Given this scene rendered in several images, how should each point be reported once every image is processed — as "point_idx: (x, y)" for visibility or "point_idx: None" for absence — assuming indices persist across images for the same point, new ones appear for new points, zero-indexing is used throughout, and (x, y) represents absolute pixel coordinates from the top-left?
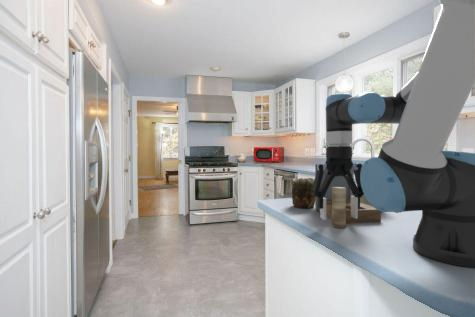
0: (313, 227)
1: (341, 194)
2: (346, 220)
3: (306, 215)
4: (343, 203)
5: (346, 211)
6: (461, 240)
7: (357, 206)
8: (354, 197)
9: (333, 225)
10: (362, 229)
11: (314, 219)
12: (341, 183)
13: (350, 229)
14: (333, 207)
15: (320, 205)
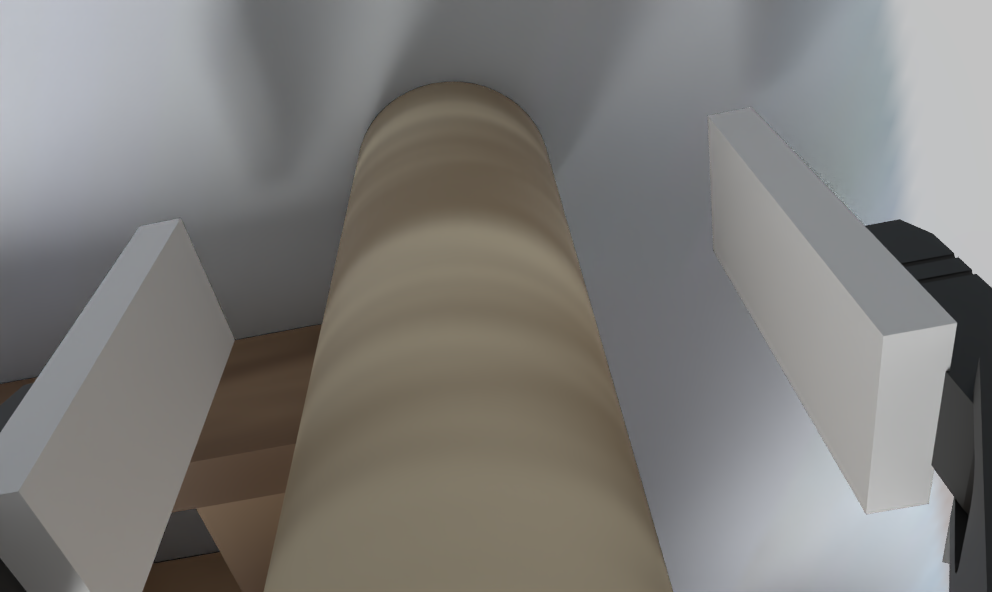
0: (840, 107)
1: (441, 450)
2: (300, 349)
3: (711, 578)
4: (387, 297)
5: (278, 440)
6: None
7: (61, 351)
8: (45, 517)
9: (544, 147)
10: (125, 38)
11: (677, 448)
12: None
13: (315, 29)
14: (587, 298)
15: (924, 253)
